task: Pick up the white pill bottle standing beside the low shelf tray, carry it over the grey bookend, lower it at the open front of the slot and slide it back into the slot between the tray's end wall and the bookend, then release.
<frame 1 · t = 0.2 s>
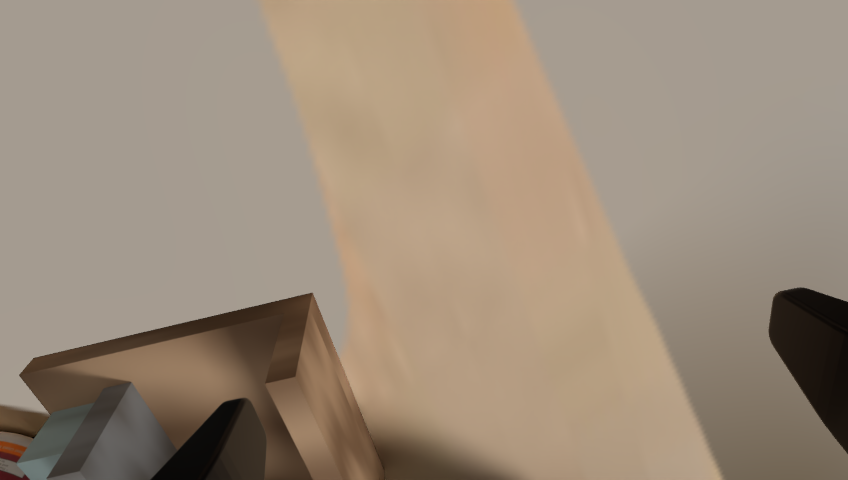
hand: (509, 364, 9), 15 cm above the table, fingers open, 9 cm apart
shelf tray: (225, 420, 29), on the table
pill bottle: (18, 463, 30), on the table
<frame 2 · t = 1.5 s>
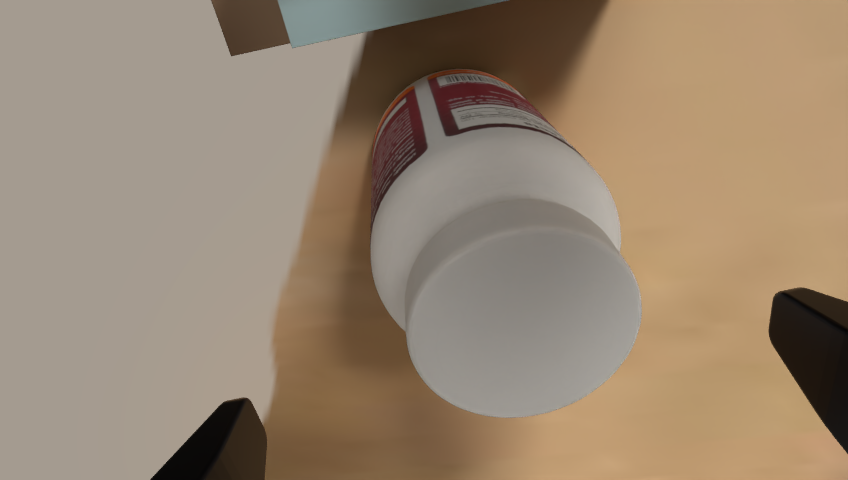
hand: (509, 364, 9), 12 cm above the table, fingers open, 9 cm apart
pill bottle: (455, 147, 20), on the table
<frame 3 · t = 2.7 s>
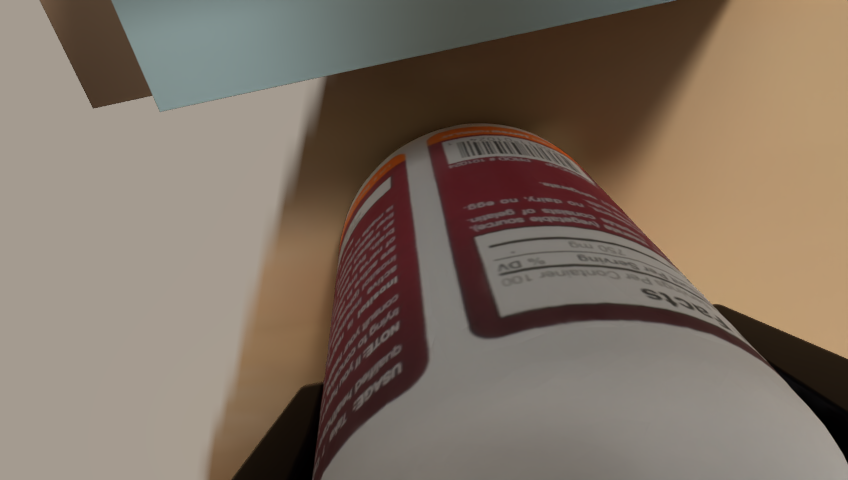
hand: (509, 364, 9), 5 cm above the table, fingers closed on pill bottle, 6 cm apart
pill bottle: (469, 236, 13), on the table, touching gripper
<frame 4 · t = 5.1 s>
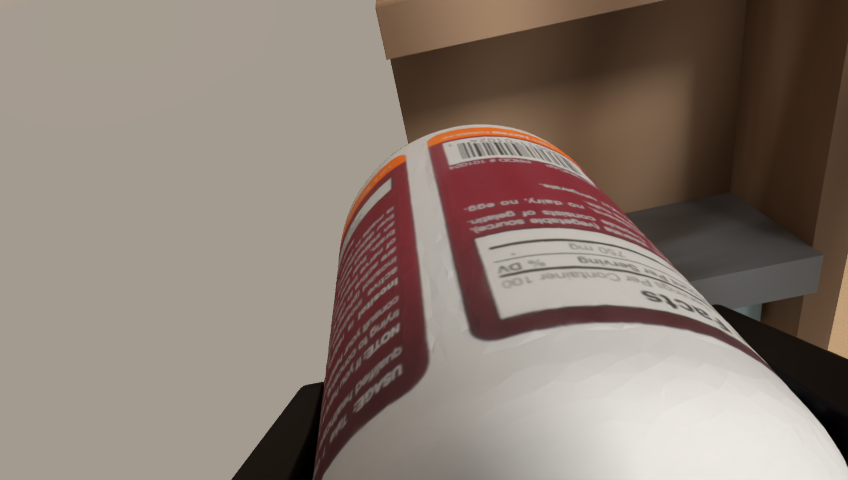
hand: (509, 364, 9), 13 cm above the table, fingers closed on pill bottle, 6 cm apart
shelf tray: (581, 151, 21), on the table
pill bottle: (469, 237, 13), point 8 cm above the table, touching gripper
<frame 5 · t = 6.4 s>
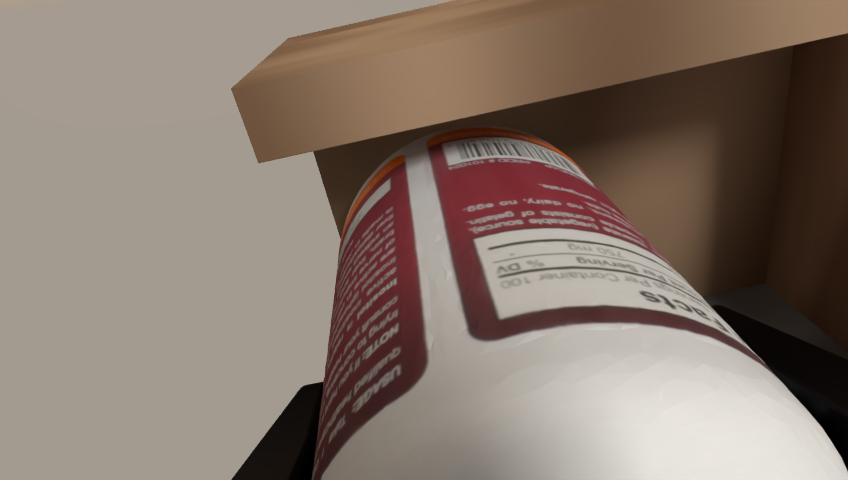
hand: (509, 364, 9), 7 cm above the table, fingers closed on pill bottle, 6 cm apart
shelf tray: (572, 232, 16), on the table
pill bottle: (469, 237, 13), point 2 cm above the table, touching gripper
when the fingers open (7 cm above the table, at t = 7.5 s): pill bottle drops 1 cm, resting on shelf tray.
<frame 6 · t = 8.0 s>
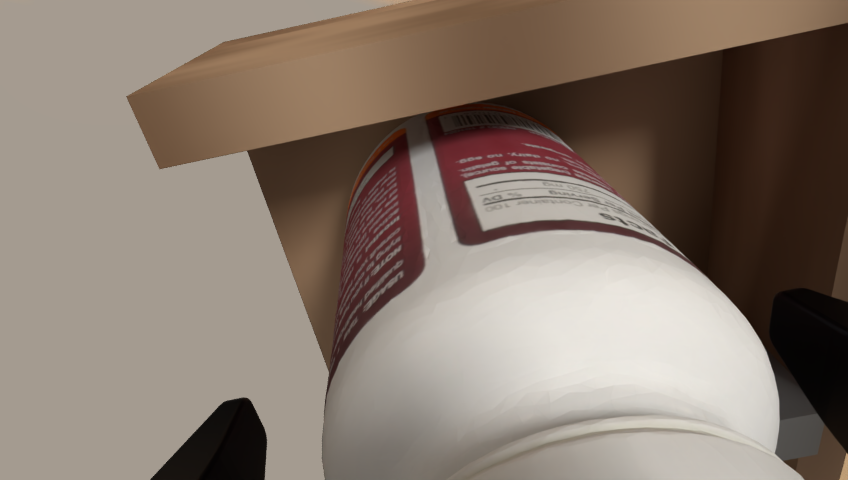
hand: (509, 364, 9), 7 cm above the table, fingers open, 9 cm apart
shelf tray: (516, 235, 16), on the table
pill bottle: (464, 208, 15), point 1 cm above the table, touching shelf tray
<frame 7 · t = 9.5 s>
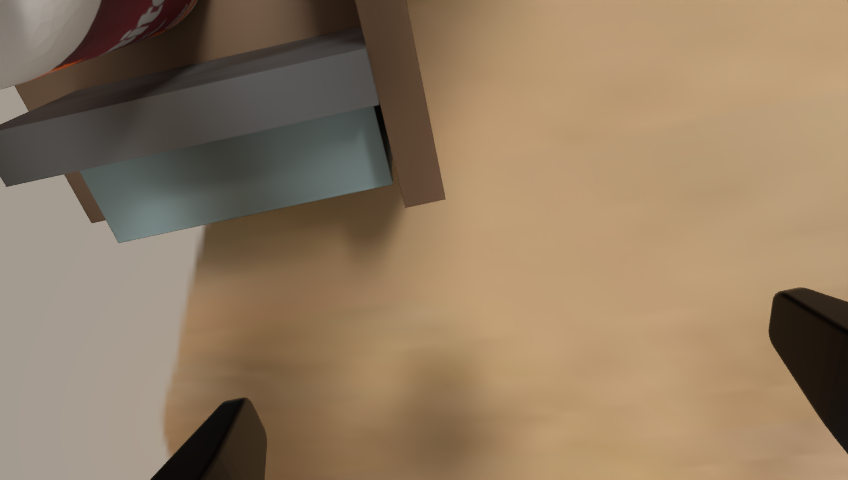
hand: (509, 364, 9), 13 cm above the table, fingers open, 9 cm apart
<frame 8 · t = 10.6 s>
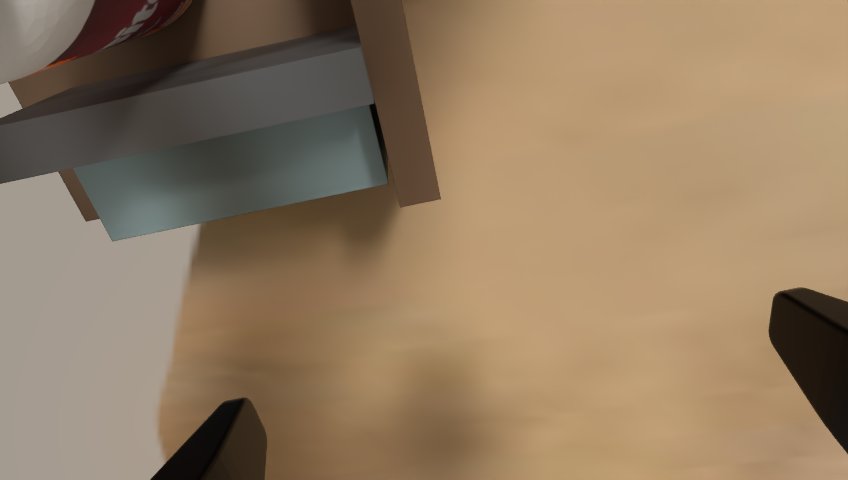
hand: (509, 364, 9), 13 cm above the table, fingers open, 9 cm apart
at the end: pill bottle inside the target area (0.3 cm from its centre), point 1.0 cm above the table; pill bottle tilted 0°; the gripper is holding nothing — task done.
